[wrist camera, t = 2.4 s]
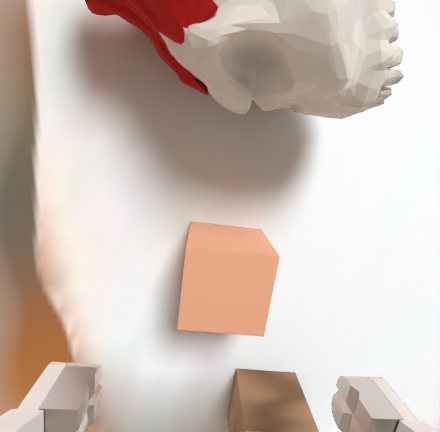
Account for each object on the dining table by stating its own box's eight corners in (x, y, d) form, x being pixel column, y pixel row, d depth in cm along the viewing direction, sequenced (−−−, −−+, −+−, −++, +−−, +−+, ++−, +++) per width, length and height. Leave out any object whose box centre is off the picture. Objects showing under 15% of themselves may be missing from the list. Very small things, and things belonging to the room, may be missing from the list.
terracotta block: (260, 229, 19) (279, 256, 14) (249, 291, 20) (263, 336, 15) (190, 221, 19) (185, 246, 14) (183, 285, 20) (177, 329, 15)
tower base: (295, 372, 22) (319, 434, 17) (283, 419, 24) (304, 490, 19) (236, 368, 22) (245, 431, 17) (227, 416, 23) (233, 487, 18)
